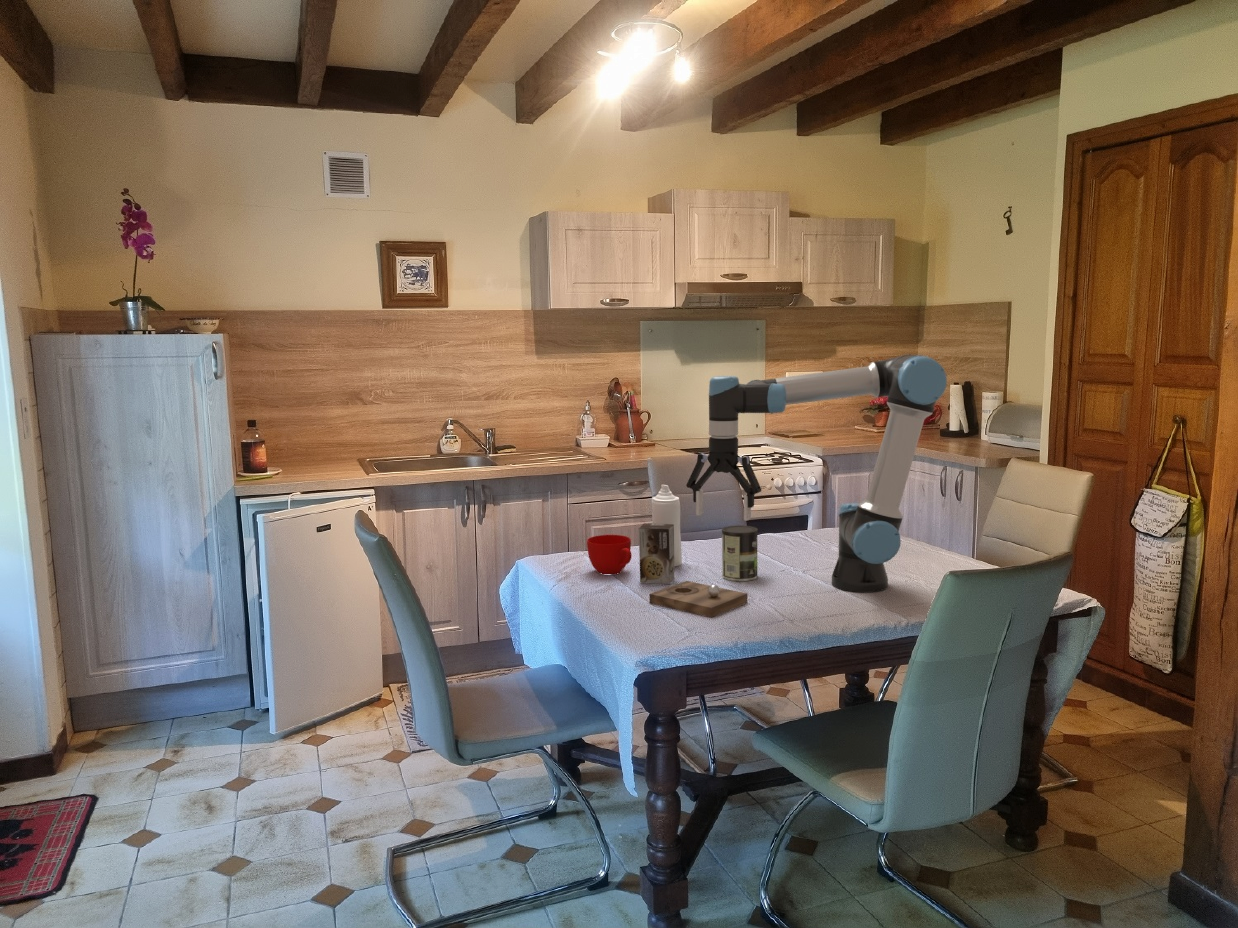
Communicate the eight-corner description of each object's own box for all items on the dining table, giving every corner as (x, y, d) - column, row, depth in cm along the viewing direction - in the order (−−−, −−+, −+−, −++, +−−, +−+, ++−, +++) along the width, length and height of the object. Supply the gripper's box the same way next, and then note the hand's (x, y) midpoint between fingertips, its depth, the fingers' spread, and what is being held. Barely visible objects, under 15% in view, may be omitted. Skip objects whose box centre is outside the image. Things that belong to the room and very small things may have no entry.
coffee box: (675, 578, 270) (674, 523, 268) (670, 584, 264) (669, 528, 262) (644, 577, 273) (643, 522, 270) (638, 582, 266) (638, 527, 264)
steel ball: (722, 596, 243) (722, 584, 242) (715, 599, 241) (715, 587, 240) (712, 594, 245) (712, 582, 245) (705, 597, 243) (705, 585, 242)
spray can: (692, 566, 283) (691, 484, 279) (660, 571, 279) (660, 488, 275) (673, 558, 293) (672, 479, 290) (643, 562, 289) (642, 482, 285)
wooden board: (747, 602, 246) (747, 593, 245) (711, 617, 234) (711, 607, 234) (686, 589, 259) (686, 580, 259) (649, 602, 247) (649, 593, 247)
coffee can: (758, 572, 275) (758, 525, 273) (756, 582, 265) (756, 533, 263) (723, 571, 277) (723, 524, 275) (720, 580, 267) (720, 532, 265)
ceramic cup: (612, 583, 266) (611, 549, 265) (579, 571, 280) (578, 538, 278) (648, 575, 274) (648, 542, 272) (614, 564, 287) (613, 532, 286)
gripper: (774, 437, 239) (773, 519, 242) (686, 432, 252) (686, 510, 255) (763, 440, 233) (762, 524, 236) (673, 435, 245) (674, 515, 248)
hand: (723, 517), depth 245 cm, fingers open, 13 cm apart
